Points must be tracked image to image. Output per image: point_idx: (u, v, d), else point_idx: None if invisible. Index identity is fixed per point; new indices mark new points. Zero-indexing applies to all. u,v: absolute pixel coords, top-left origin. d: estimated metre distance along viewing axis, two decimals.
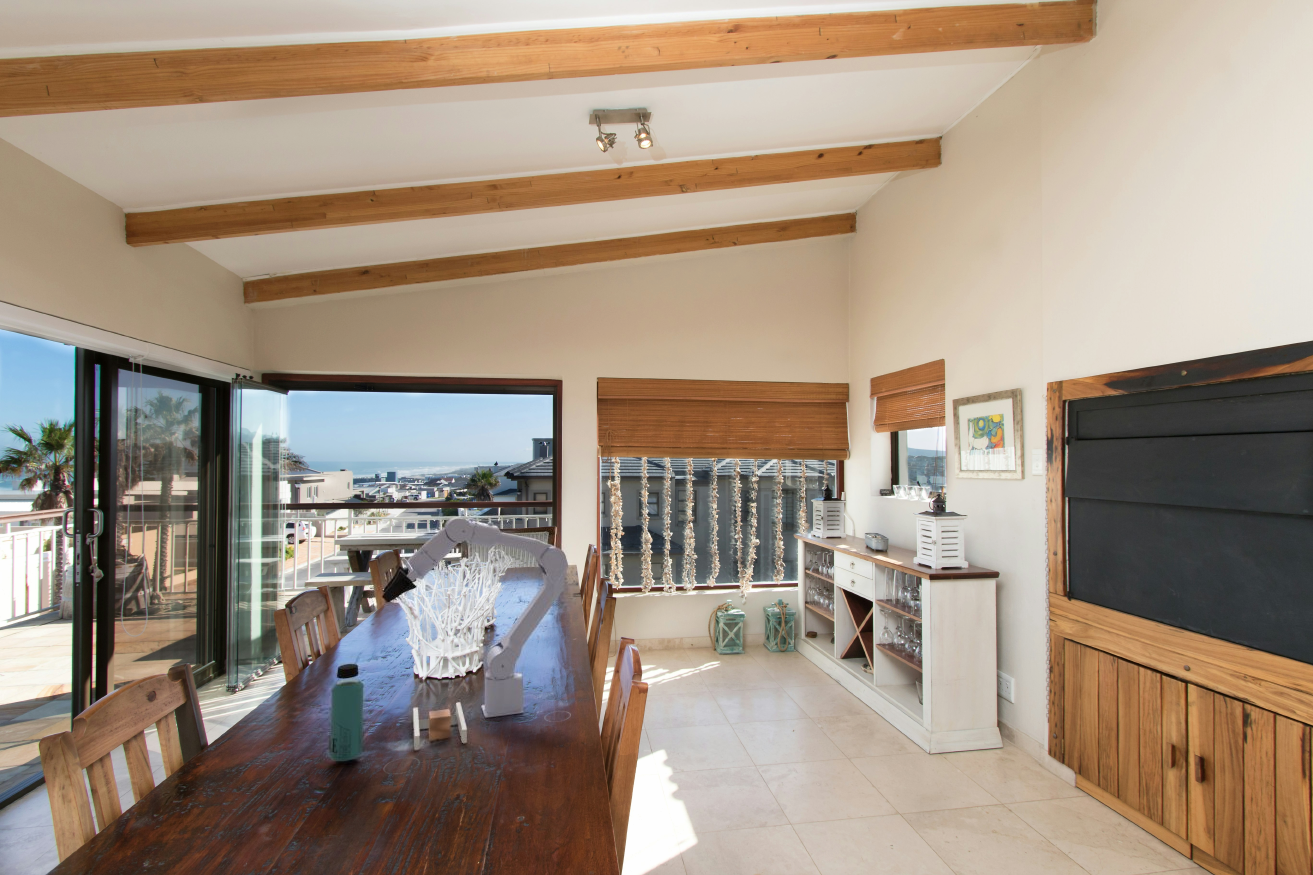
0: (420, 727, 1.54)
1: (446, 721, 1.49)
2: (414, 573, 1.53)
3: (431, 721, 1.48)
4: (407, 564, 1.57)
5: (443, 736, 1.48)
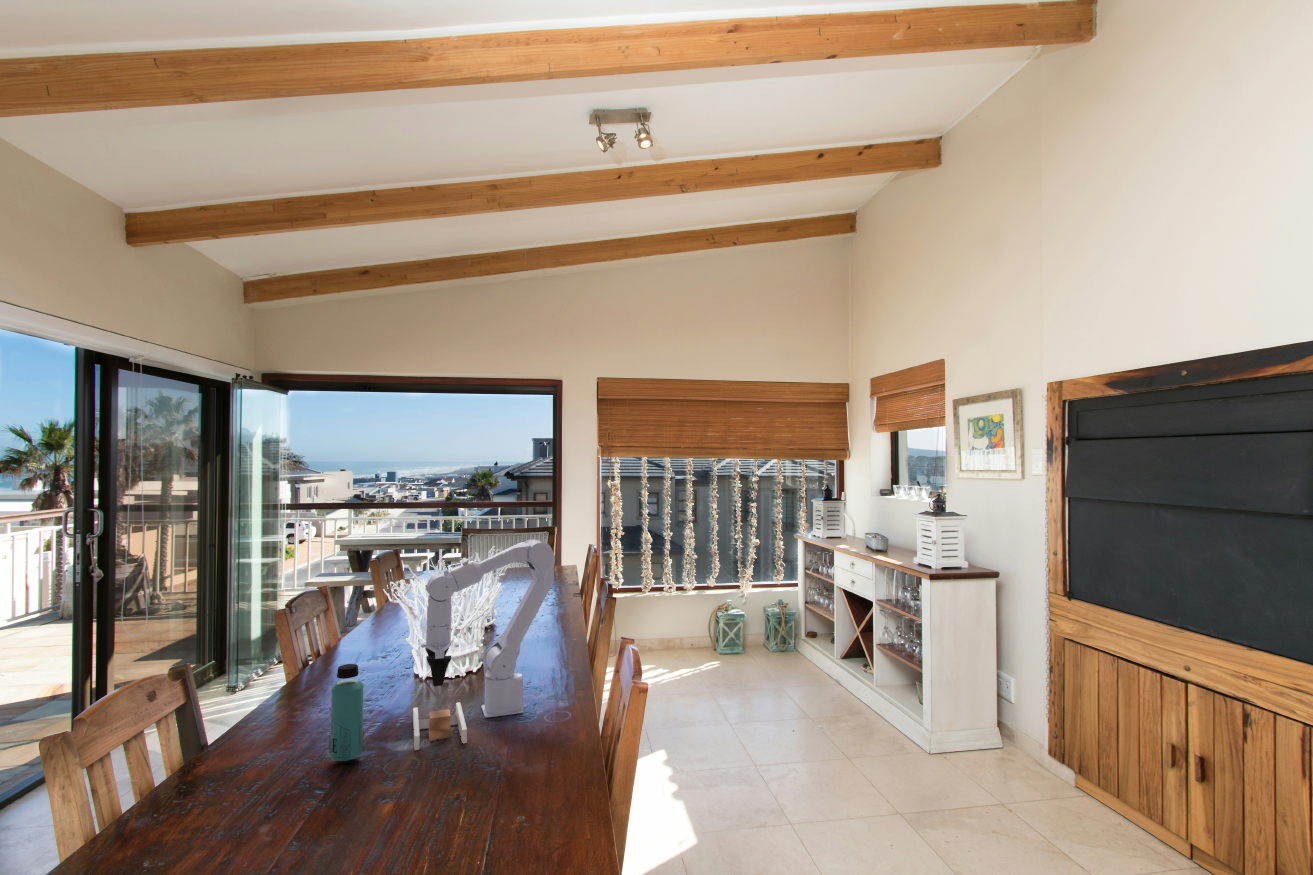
0: (420, 727, 1.54)
1: (446, 721, 1.49)
2: (439, 651, 1.53)
3: (431, 721, 1.48)
4: (428, 647, 1.57)
5: (443, 736, 1.48)
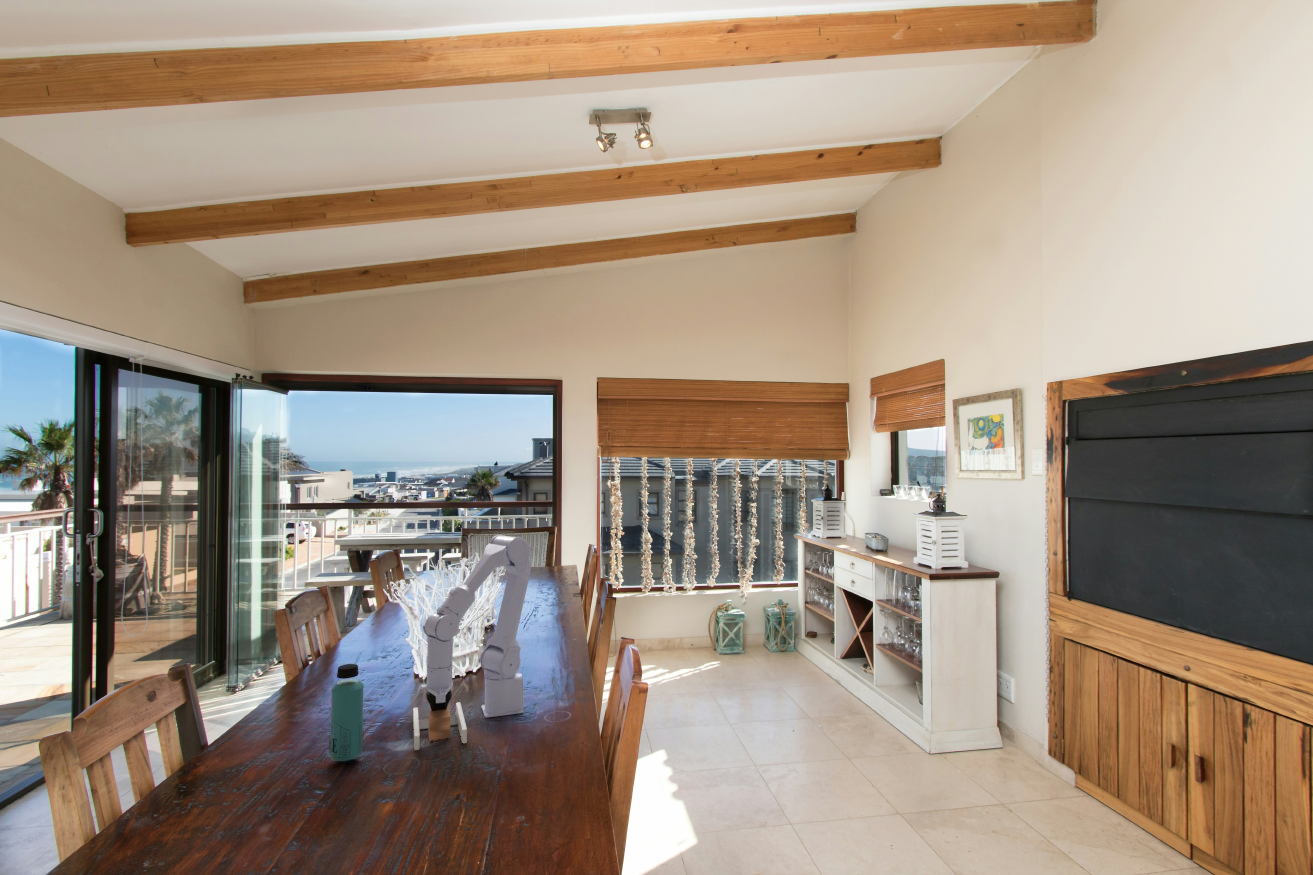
0: (420, 727, 1.54)
1: (446, 722, 1.49)
2: (440, 695, 1.47)
3: (431, 722, 1.47)
4: (429, 690, 1.50)
5: (443, 736, 1.48)
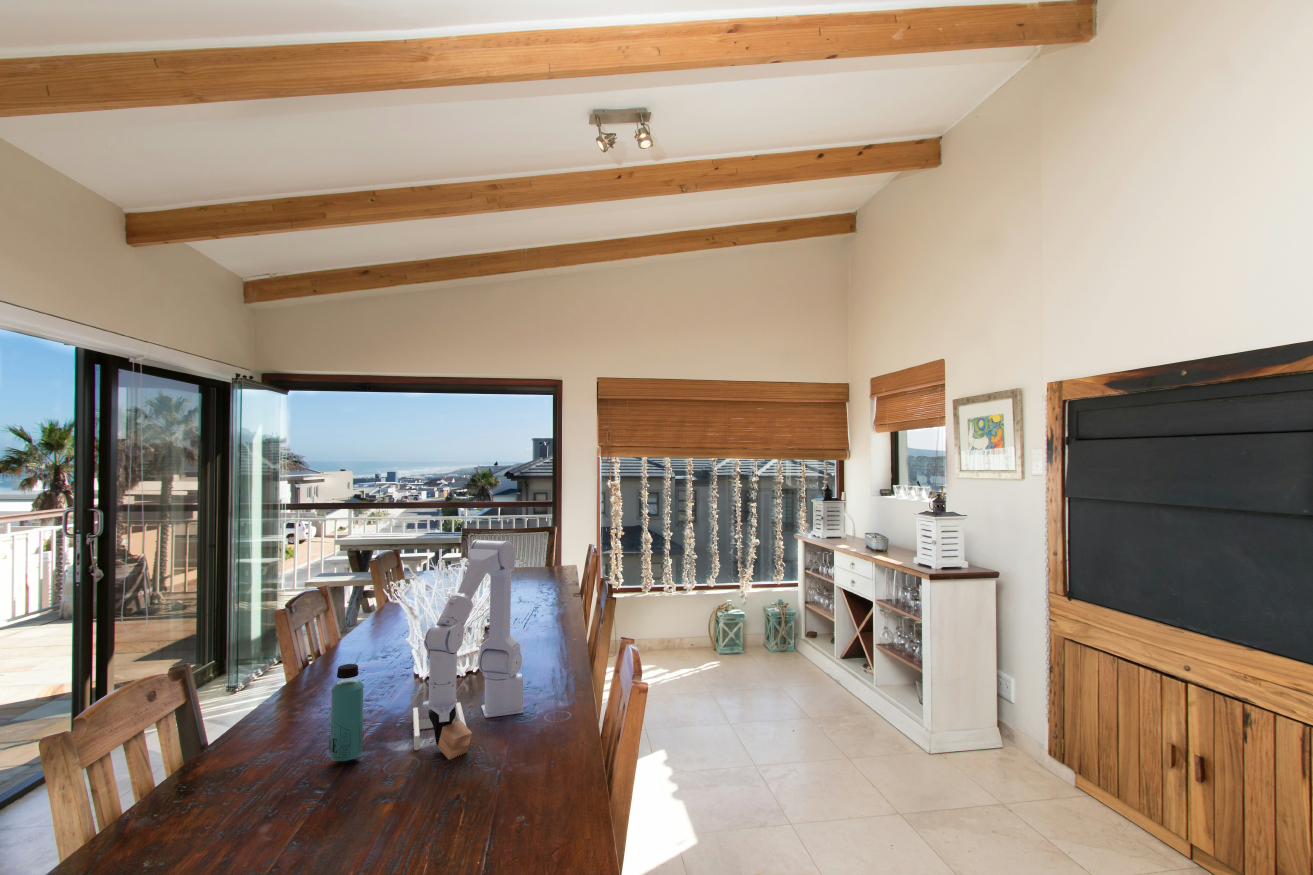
0: (420, 727, 1.54)
1: (467, 738, 1.40)
2: (443, 714, 1.36)
3: (454, 741, 1.37)
4: (431, 707, 1.40)
5: (461, 752, 1.40)
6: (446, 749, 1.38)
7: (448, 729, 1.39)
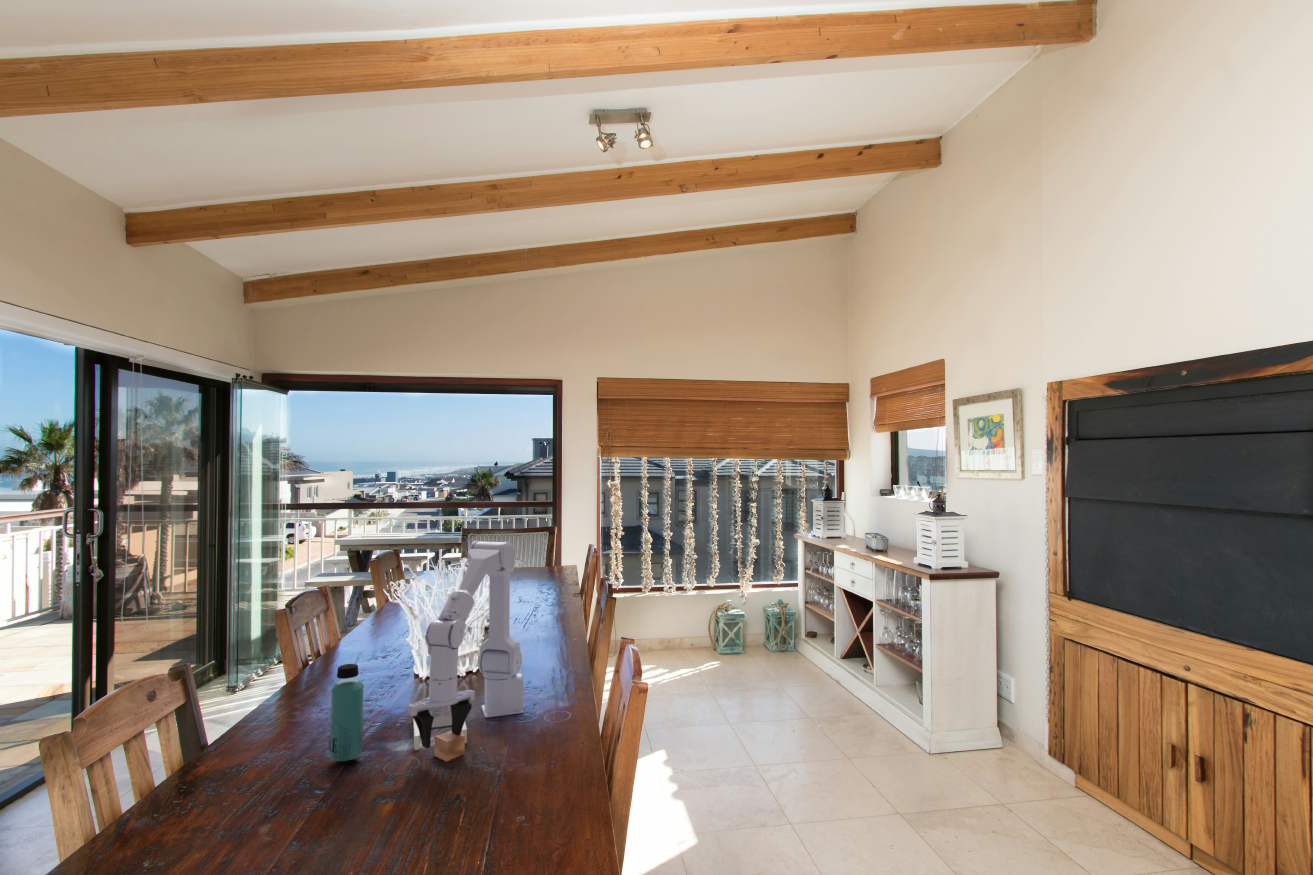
0: None
1: (461, 742, 1.40)
2: (410, 707, 1.35)
3: (448, 744, 1.37)
4: None
5: None
6: (442, 756, 1.38)
7: (440, 736, 1.40)
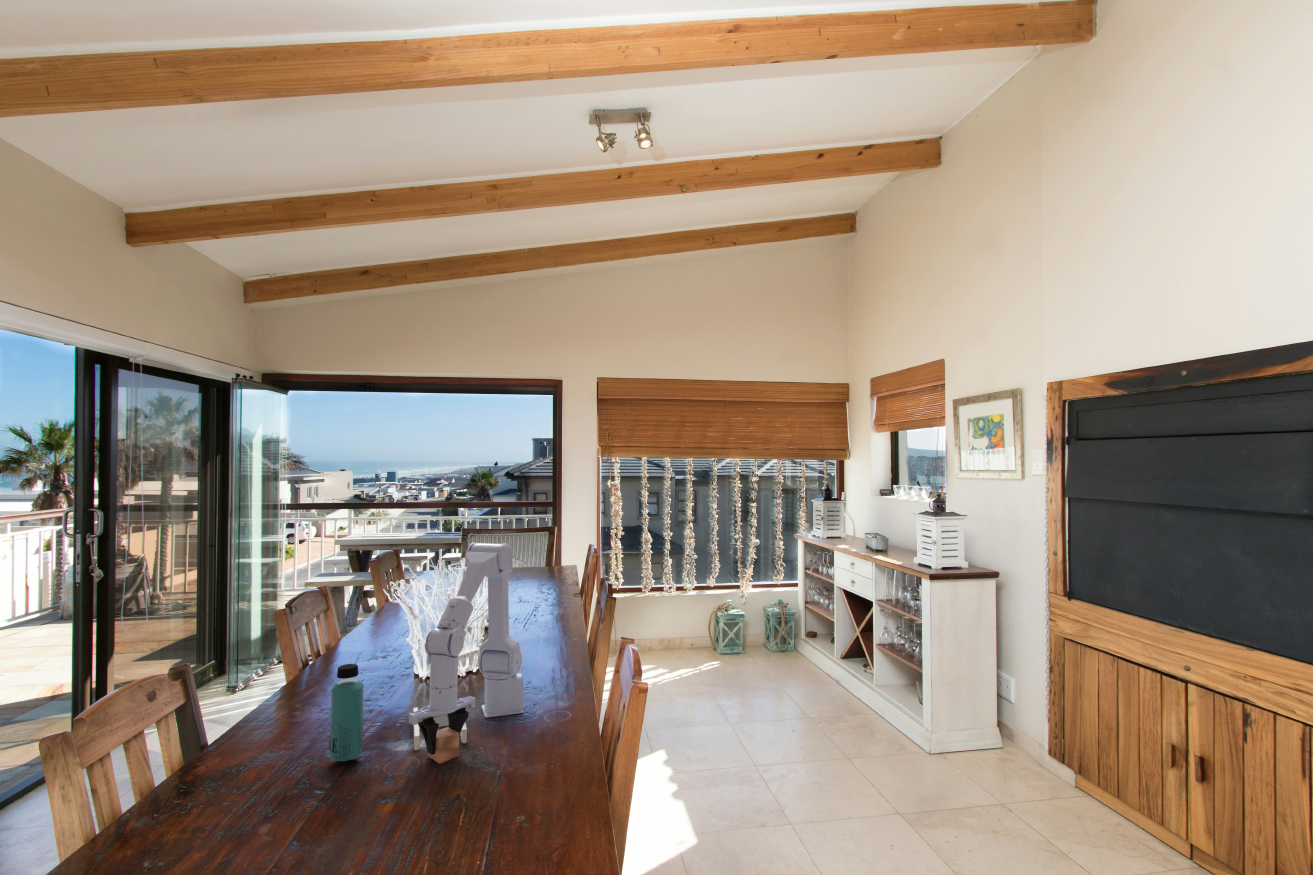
0: None
1: (455, 739, 1.39)
2: (410, 715, 1.35)
3: (441, 742, 1.36)
4: None
5: (452, 756, 1.38)
6: (435, 754, 1.37)
7: None
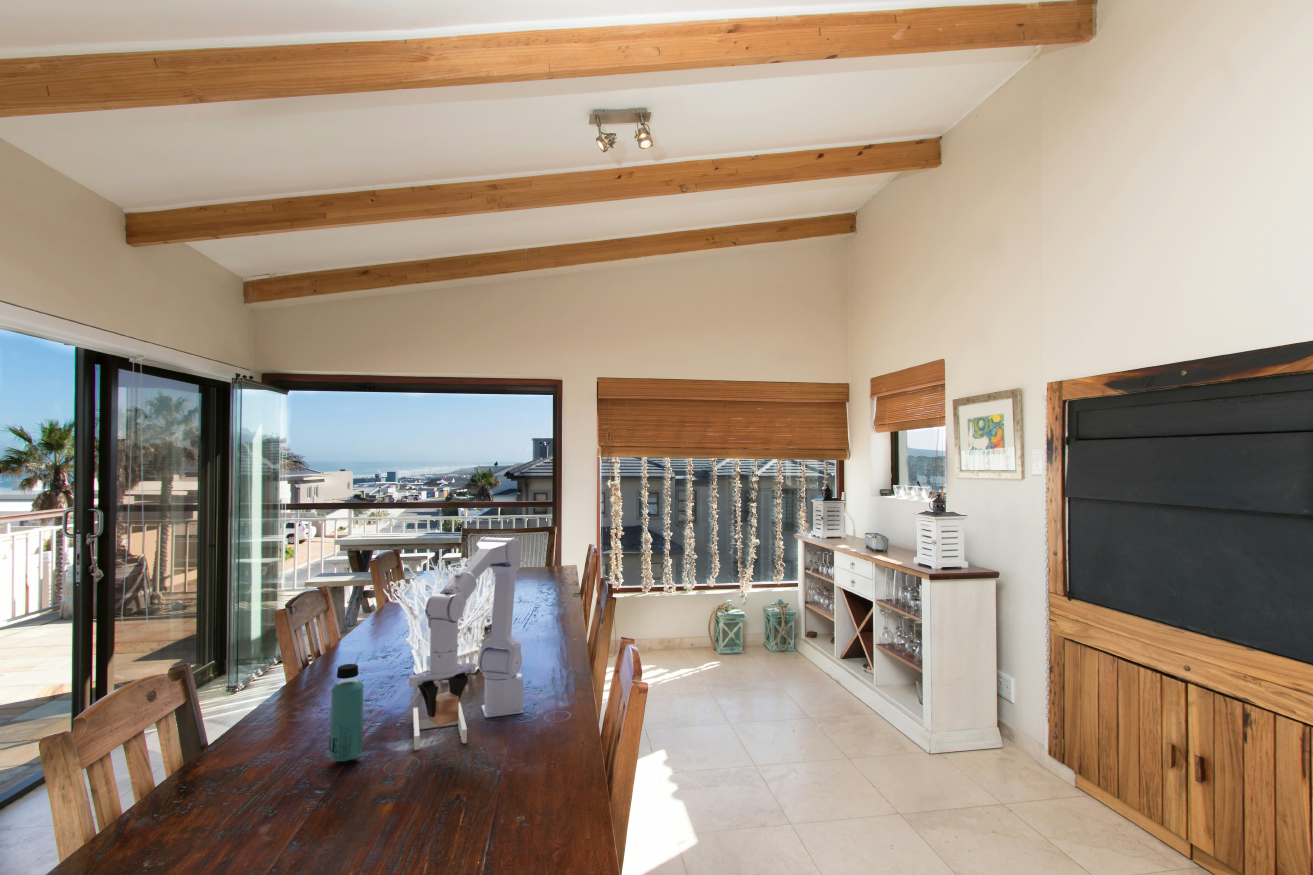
0: (420, 727, 1.54)
1: (454, 703, 1.41)
2: (410, 678, 1.37)
3: (440, 705, 1.39)
4: None
5: (452, 719, 1.40)
6: (435, 717, 1.39)
7: None
